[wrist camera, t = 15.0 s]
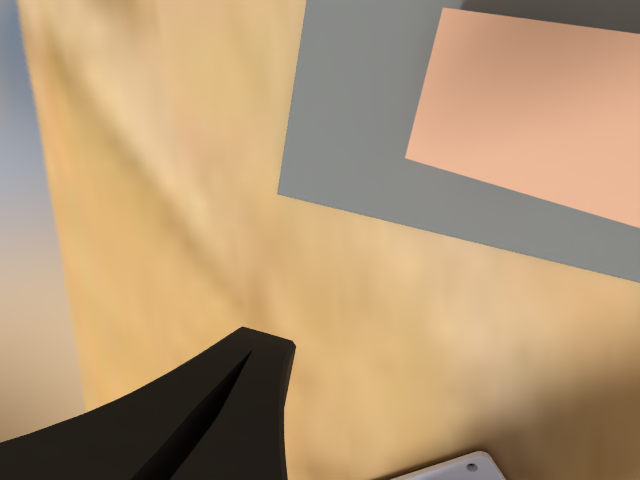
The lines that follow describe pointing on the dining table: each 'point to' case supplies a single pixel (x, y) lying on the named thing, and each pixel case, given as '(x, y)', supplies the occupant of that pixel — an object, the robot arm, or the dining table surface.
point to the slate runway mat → (397, 122)
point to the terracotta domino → (535, 110)
